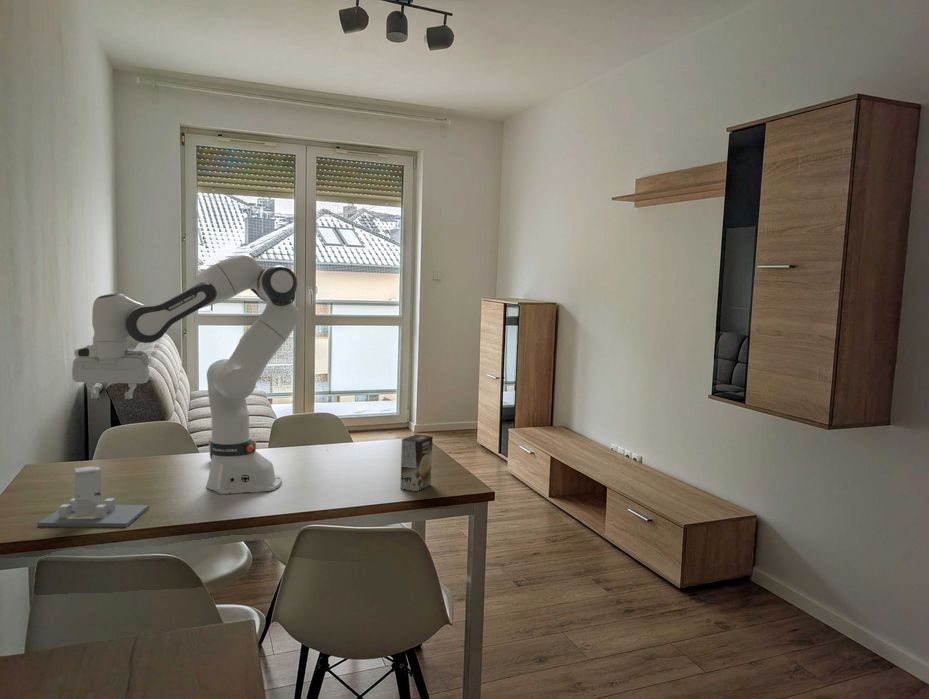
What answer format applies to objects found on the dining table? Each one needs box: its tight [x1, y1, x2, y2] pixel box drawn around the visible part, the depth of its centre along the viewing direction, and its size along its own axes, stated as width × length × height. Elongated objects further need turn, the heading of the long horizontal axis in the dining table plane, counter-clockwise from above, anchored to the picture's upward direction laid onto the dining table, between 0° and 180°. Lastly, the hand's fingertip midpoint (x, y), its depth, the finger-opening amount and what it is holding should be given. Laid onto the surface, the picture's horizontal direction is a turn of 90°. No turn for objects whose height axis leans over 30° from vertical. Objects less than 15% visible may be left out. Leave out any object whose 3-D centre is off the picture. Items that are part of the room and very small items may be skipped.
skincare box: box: [74, 465, 102, 517], centre depth 174 cm, size 6×4×12 cm
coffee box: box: [400, 434, 433, 492], centre depth 208 cm, size 9×6×16 cm
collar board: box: [37, 497, 150, 528], centre depth 175 cm, size 22×14×4 cm, turn 94°
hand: (111, 398), depth 189 cm, fingers open, 8 cm apart
